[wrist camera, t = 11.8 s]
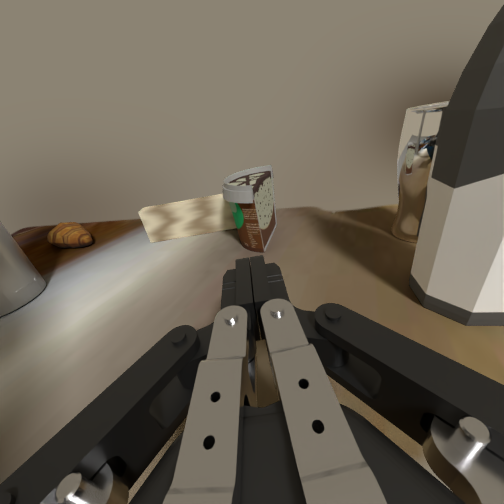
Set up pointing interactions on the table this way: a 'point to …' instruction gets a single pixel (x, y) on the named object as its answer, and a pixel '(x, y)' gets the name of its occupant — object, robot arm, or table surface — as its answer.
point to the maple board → (187, 218)
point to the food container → (252, 206)
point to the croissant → (69, 236)
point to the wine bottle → (467, 197)
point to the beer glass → (416, 166)
